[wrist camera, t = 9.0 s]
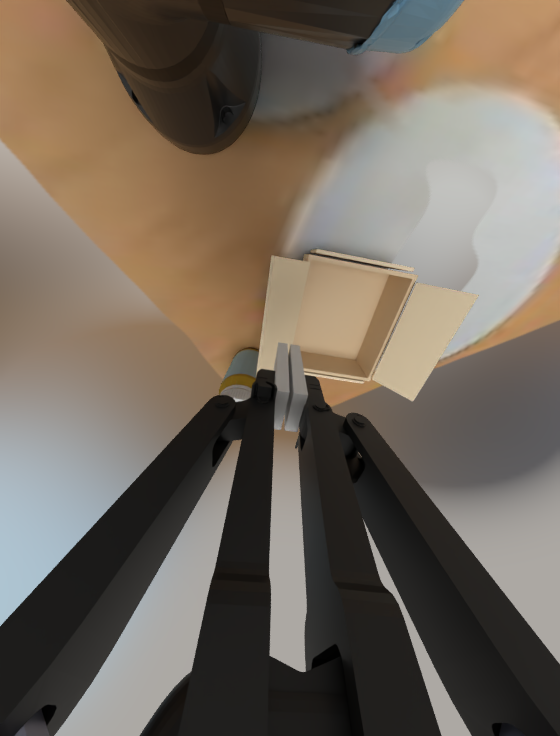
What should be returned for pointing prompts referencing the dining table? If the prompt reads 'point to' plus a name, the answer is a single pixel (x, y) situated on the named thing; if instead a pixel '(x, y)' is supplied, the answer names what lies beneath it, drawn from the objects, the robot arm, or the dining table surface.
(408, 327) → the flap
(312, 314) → the carton
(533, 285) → the dining table surface
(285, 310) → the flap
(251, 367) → the bottle
